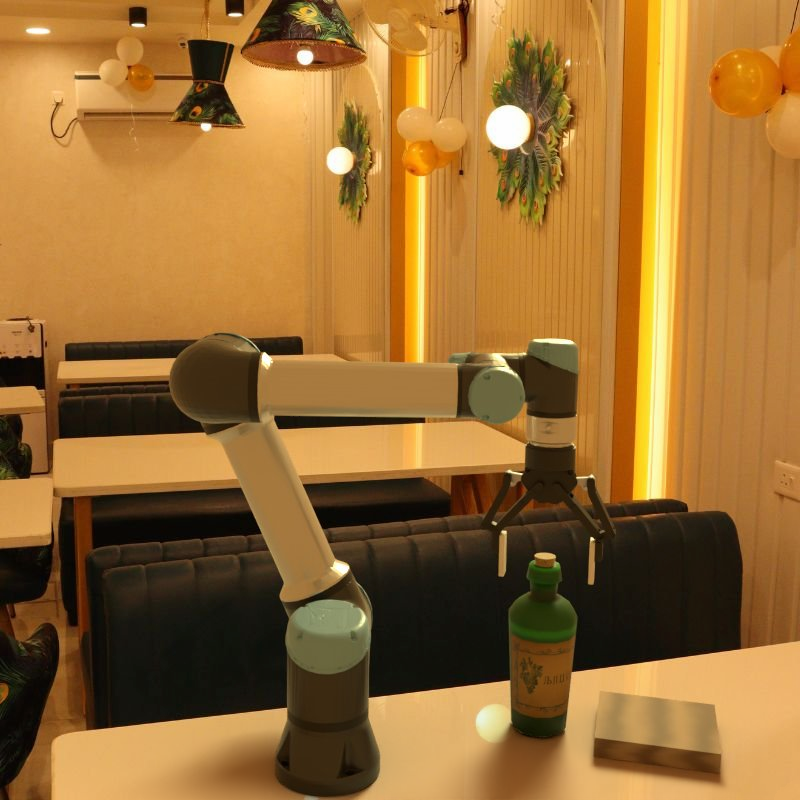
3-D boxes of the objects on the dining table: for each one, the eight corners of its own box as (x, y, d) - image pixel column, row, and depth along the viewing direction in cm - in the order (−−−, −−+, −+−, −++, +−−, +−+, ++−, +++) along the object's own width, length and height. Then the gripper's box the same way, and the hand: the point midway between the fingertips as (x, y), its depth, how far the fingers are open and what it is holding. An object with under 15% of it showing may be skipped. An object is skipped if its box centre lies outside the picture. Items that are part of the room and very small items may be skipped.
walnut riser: (593, 756, 149) (594, 737, 149) (598, 707, 164) (599, 690, 164) (719, 773, 145) (721, 754, 144) (713, 722, 160) (714, 704, 160)
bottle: (519, 747, 151) (526, 569, 147) (494, 714, 162) (500, 547, 157) (583, 738, 154) (592, 564, 150) (555, 707, 164) (562, 543, 160)
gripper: (464, 442, 150) (461, 578, 153) (635, 452, 144) (628, 593, 147) (472, 433, 157) (470, 562, 160) (636, 442, 151) (629, 576, 155)
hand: (546, 577), depth 154 cm, fingers open, 13 cm apart
